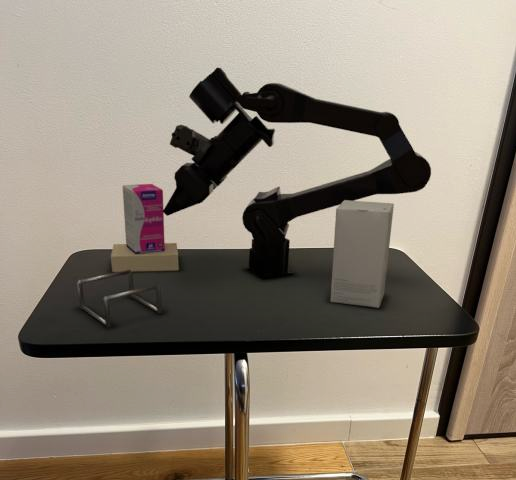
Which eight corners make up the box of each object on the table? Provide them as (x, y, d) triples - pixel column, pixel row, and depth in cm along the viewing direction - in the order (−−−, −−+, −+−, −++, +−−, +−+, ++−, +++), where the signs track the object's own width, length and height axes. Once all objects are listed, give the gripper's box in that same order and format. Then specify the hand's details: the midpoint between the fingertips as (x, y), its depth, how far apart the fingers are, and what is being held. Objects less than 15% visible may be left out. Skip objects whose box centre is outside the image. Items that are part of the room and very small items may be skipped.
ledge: (177, 257, 108) (176, 242, 106) (178, 270, 100) (178, 254, 99) (114, 259, 106) (113, 244, 104) (112, 272, 98) (110, 256, 97)
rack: (132, 295, 88) (130, 268, 86) (162, 313, 82) (161, 284, 80) (79, 308, 83) (76, 280, 81) (107, 328, 77) (104, 297, 75)
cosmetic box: (384, 296, 91) (397, 203, 84) (378, 310, 86) (392, 211, 79) (335, 289, 94) (344, 198, 87) (327, 302, 88) (335, 206, 81)
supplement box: (135, 255, 98) (131, 190, 93) (125, 246, 103) (120, 184, 98) (166, 251, 101) (163, 188, 96) (155, 243, 105) (151, 182, 100)
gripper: (209, 105, 98) (153, 166, 104) (185, 110, 81) (120, 182, 87) (251, 152, 101) (194, 209, 107) (237, 167, 84) (171, 233, 90)
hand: (171, 207), depth 98 cm, fingers open, 9 cm apart
